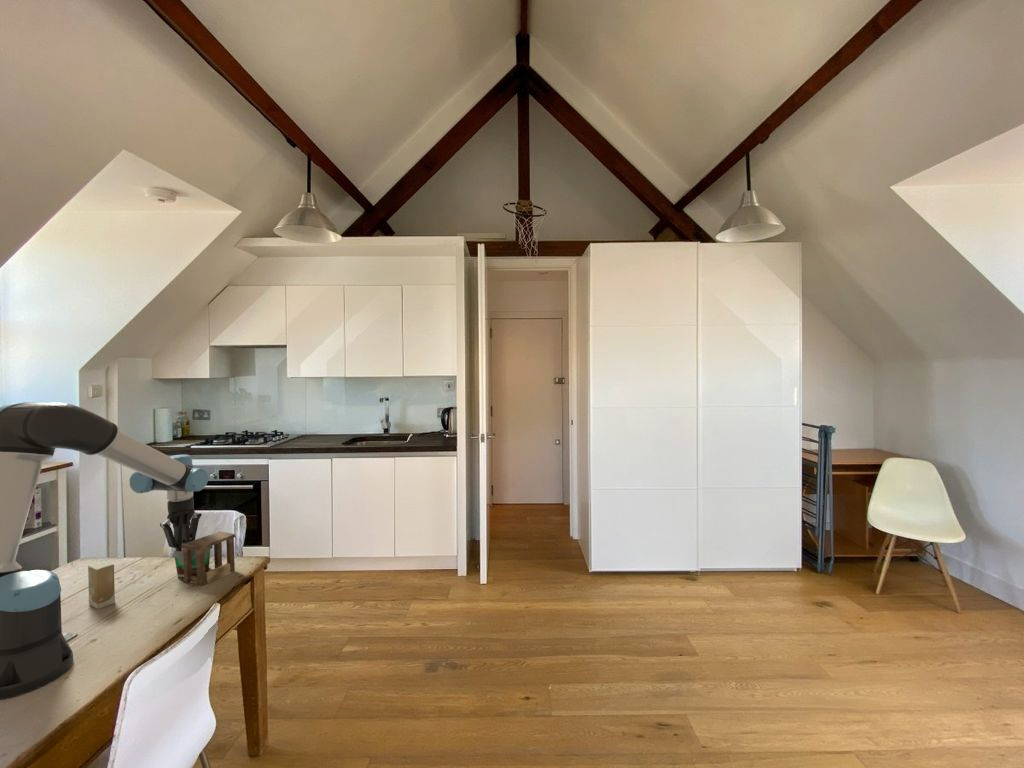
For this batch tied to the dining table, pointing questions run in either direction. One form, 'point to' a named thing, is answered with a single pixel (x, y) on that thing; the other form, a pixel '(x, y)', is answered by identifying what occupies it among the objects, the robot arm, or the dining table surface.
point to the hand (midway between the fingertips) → (183, 563)
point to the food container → (180, 562)
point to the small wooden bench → (200, 558)
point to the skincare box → (101, 584)
